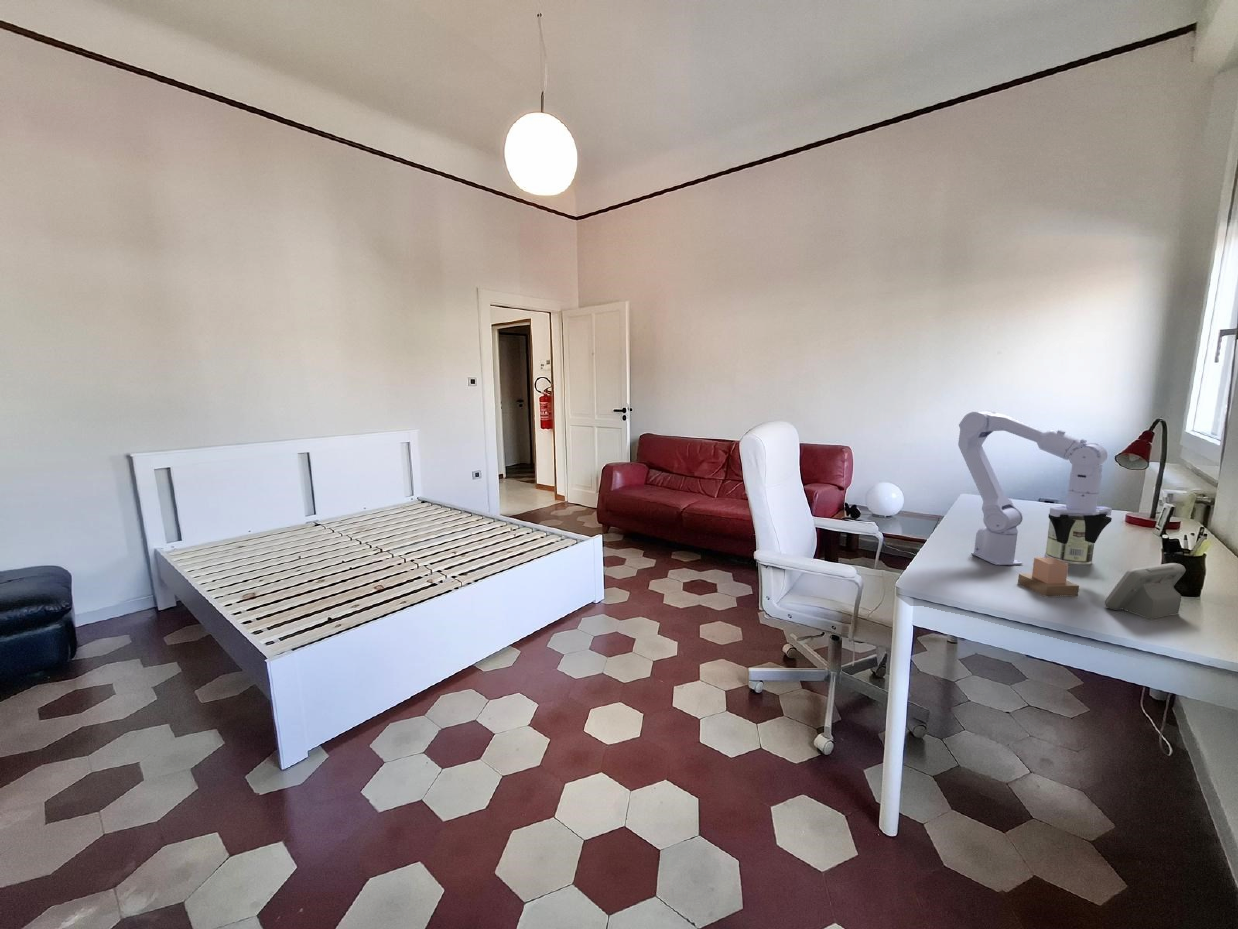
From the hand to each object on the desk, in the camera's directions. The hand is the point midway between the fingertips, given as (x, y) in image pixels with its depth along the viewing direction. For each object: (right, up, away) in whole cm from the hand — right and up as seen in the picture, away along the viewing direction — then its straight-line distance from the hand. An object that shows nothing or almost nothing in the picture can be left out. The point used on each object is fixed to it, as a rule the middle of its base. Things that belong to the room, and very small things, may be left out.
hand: (1075, 542), depth 125 cm
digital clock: (0, -13, -15) cm, 20 cm away
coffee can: (+13, -8, +16) cm, 22 cm away
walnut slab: (-12, -11, -5) cm, 17 cm away
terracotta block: (-12, -9, -5) cm, 15 cm away
